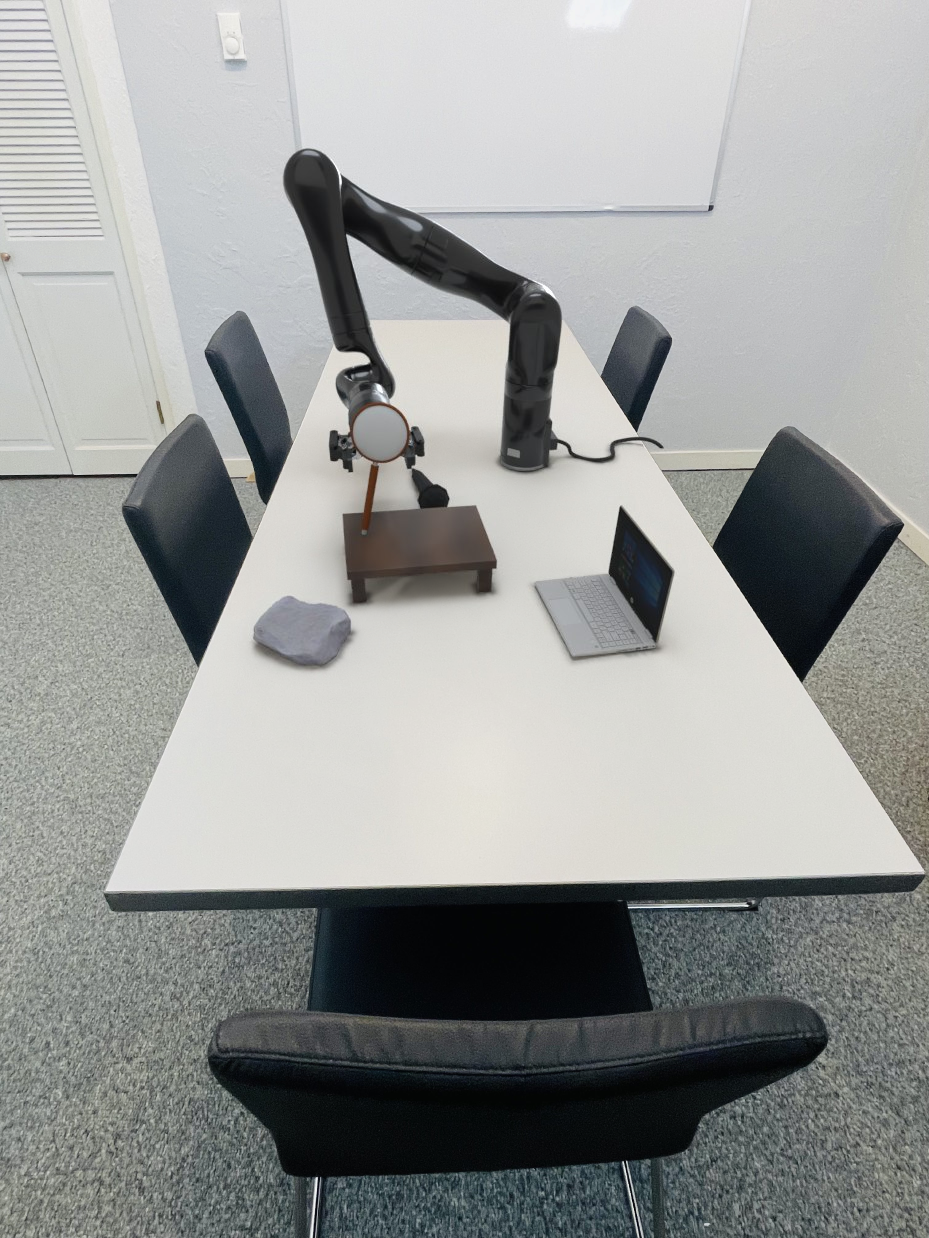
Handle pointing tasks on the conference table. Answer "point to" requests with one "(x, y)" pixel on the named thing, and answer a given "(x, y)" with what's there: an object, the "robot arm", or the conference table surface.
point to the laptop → (613, 597)
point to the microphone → (429, 492)
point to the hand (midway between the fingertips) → (380, 465)
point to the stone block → (303, 630)
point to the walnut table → (417, 545)
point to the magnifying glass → (378, 443)
